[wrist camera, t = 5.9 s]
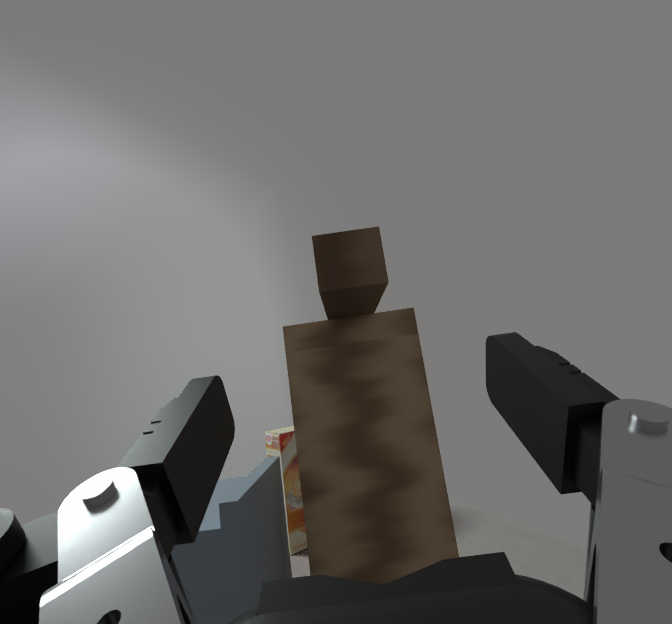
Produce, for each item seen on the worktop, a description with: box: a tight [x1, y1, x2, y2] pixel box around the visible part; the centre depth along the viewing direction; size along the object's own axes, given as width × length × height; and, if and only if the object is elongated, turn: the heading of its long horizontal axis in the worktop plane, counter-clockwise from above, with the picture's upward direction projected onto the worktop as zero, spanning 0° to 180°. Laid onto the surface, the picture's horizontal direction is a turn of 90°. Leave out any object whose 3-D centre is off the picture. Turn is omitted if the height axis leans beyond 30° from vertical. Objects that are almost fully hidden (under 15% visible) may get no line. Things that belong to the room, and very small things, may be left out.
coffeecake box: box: [265, 426, 308, 555], centre depth 66 cm, size 15×7×20 cm, turn 123°
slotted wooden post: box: [283, 308, 459, 584], centre depth 29 cm, size 10×10×32 cm
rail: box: [312, 227, 388, 320], centre depth 30 cm, size 4×24×3 cm, turn 178°
